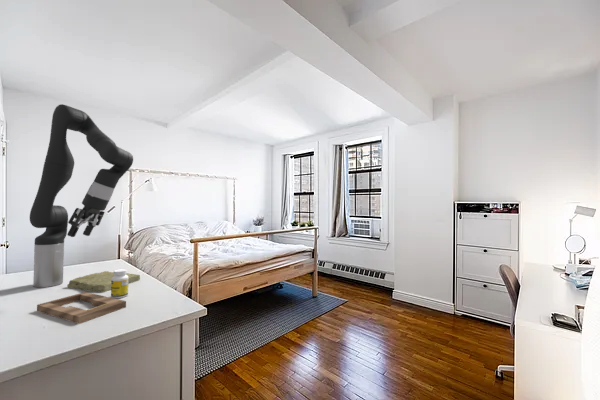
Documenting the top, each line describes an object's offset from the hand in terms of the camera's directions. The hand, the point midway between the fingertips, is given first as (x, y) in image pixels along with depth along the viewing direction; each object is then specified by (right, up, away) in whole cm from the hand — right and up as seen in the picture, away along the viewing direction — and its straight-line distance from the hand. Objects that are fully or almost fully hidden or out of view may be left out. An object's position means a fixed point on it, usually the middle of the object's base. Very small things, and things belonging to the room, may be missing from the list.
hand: (78, 235), depth 102 cm
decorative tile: (-2, -23, +15) cm, 28 cm away
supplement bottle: (+15, -23, 0) cm, 28 cm away
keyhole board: (+11, -23, -12) cm, 28 cm away
